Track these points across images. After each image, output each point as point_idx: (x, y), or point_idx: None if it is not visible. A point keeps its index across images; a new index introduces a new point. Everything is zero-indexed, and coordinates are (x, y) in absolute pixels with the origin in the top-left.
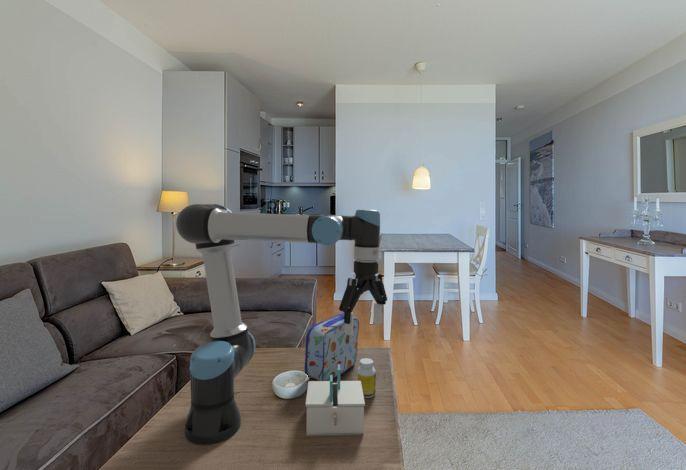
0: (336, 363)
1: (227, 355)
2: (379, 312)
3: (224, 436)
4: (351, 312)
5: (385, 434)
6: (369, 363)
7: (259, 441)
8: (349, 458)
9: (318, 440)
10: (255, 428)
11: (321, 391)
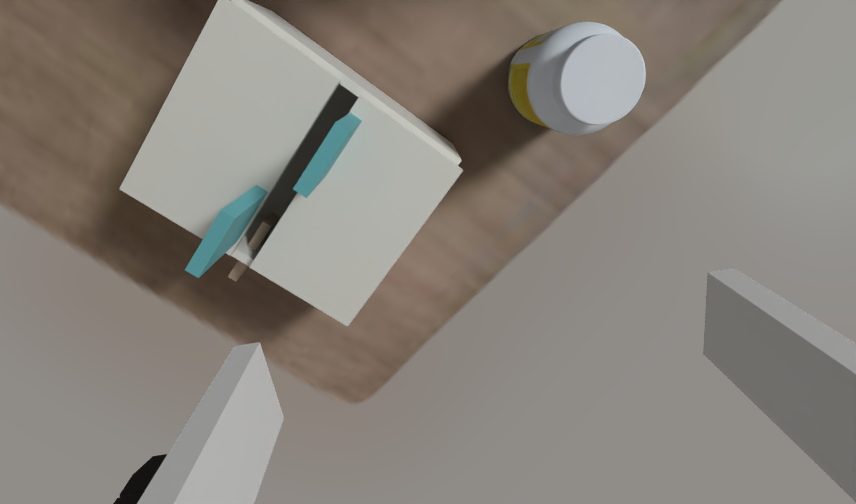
0: None
1: None
2: (804, 440)
3: None
4: None
5: (415, 314)
6: (589, 120)
7: (15, 96)
8: (256, 330)
9: None
10: (12, 8)
11: (234, 138)
